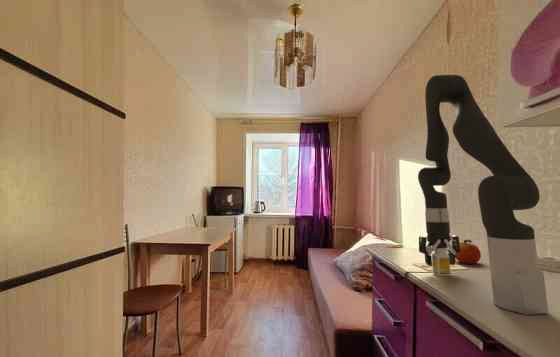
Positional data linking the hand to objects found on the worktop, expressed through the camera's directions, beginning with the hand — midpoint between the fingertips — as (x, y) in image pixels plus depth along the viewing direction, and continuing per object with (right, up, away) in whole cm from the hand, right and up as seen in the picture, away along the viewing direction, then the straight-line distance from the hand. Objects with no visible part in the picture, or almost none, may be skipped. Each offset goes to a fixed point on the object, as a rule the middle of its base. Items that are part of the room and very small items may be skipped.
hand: (440, 264), depth 93 cm
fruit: (+21, -4, +15) cm, 26 cm away
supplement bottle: (0, -4, -1) cm, 4 cm away
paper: (+6, -4, +10) cm, 12 cm away
